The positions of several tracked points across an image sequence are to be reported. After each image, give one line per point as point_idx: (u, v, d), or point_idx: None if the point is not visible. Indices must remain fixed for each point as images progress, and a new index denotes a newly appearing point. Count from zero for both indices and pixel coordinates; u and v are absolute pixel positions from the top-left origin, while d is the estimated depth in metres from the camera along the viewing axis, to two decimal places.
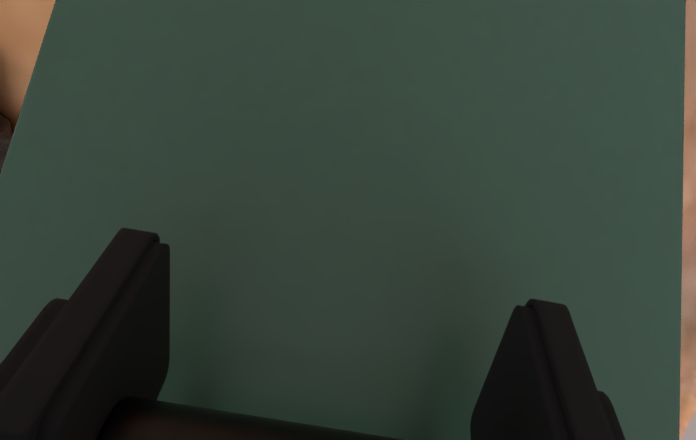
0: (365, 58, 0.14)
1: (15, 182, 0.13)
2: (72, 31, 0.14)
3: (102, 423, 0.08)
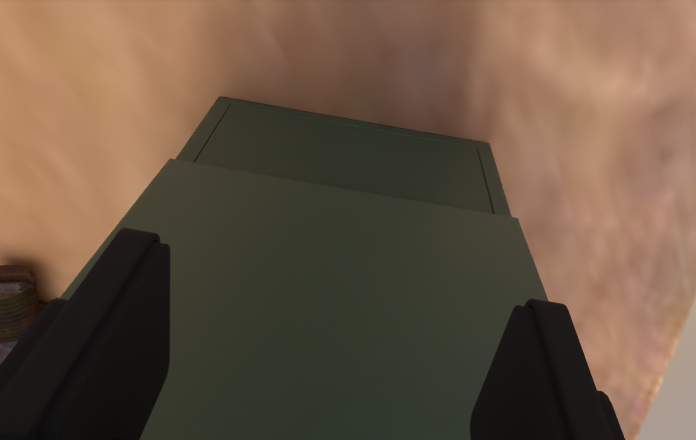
0: (318, 325, 0.17)
1: None
2: None
3: (102, 423, 0.08)
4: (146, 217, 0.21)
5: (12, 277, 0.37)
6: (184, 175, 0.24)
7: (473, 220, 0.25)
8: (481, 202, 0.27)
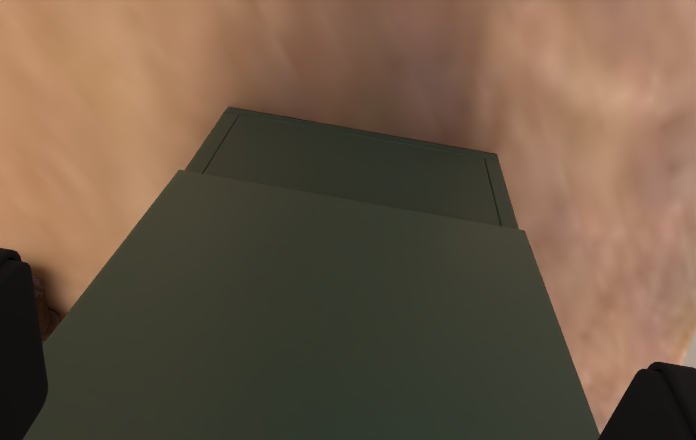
0: (326, 338, 0.18)
1: None
2: (91, 311, 0.17)
3: None
4: (155, 229, 0.21)
5: None
6: (193, 186, 0.24)
7: (480, 232, 0.25)
8: (488, 214, 0.27)
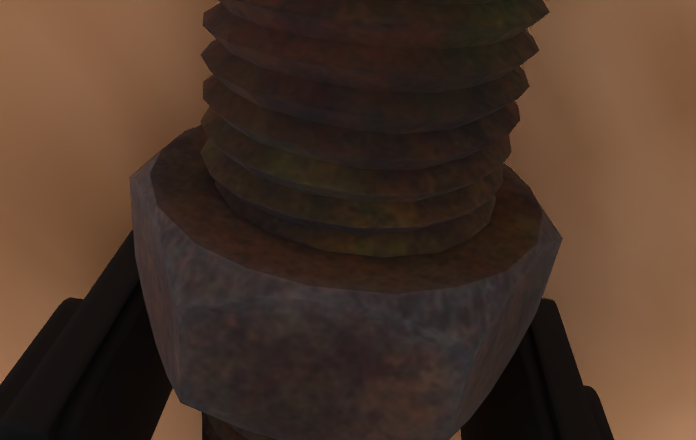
0: None
1: None
2: None
3: (118, 422, 0.08)
4: None
5: None
6: None
7: None
8: None
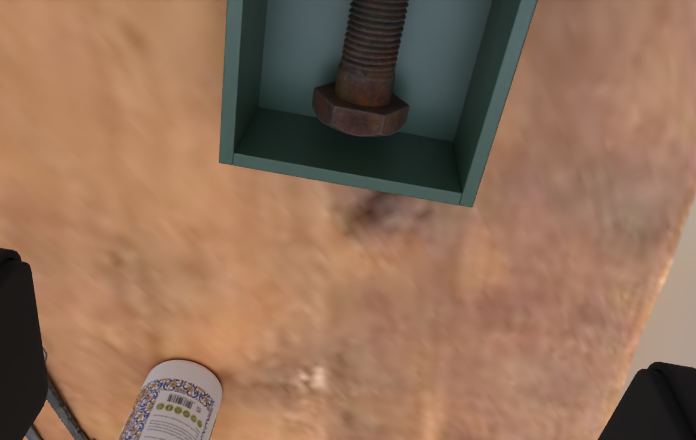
0: None
1: None
2: None
3: None
4: None
5: None
6: None
7: None
8: None
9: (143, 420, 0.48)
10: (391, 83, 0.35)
